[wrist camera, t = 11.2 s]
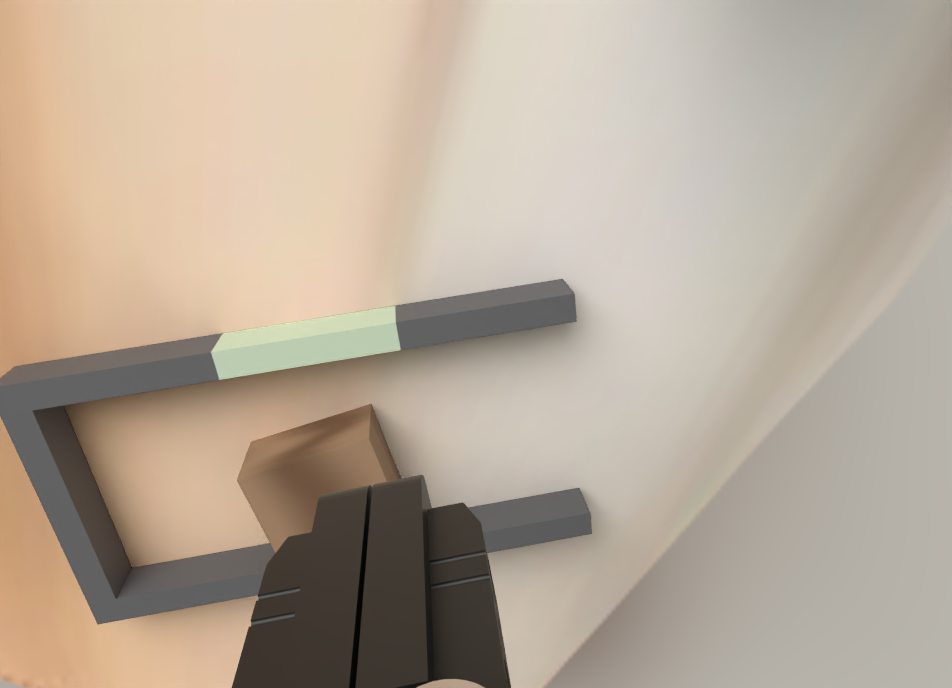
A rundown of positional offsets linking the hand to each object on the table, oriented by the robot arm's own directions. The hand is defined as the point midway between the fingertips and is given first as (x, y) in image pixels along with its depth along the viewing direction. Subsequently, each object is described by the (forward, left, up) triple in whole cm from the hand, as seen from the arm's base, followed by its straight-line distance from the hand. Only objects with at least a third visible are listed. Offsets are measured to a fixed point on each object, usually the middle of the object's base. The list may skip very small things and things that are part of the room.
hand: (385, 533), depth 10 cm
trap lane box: (+5, +13, -25) cm, 29 cm away
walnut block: (+6, +15, -26) cm, 30 cm away
